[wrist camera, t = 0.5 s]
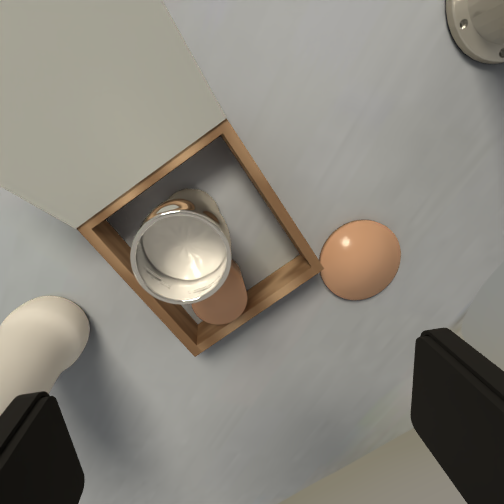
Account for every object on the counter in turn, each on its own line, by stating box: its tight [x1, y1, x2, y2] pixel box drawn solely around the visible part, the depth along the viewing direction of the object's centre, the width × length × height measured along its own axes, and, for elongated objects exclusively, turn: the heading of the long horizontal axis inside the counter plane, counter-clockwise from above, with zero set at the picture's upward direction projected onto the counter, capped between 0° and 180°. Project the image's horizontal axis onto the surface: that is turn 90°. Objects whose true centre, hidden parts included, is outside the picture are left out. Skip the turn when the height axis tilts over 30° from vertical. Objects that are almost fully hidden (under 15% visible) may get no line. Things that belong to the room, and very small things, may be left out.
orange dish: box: [319, 220, 401, 300], centre depth 39 cm, size 10×10×1 cm
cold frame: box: [77, 118, 324, 357], centre depth 34 cm, size 17×18×4 cm
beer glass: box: [130, 189, 232, 305], centre depth 28 cm, size 7×7×15 cm
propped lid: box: [0, 0, 226, 229], centre depth 24 cm, size 17×14×16 cm
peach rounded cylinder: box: [191, 259, 247, 325], centre depth 35 cm, size 6×6×6 cm
